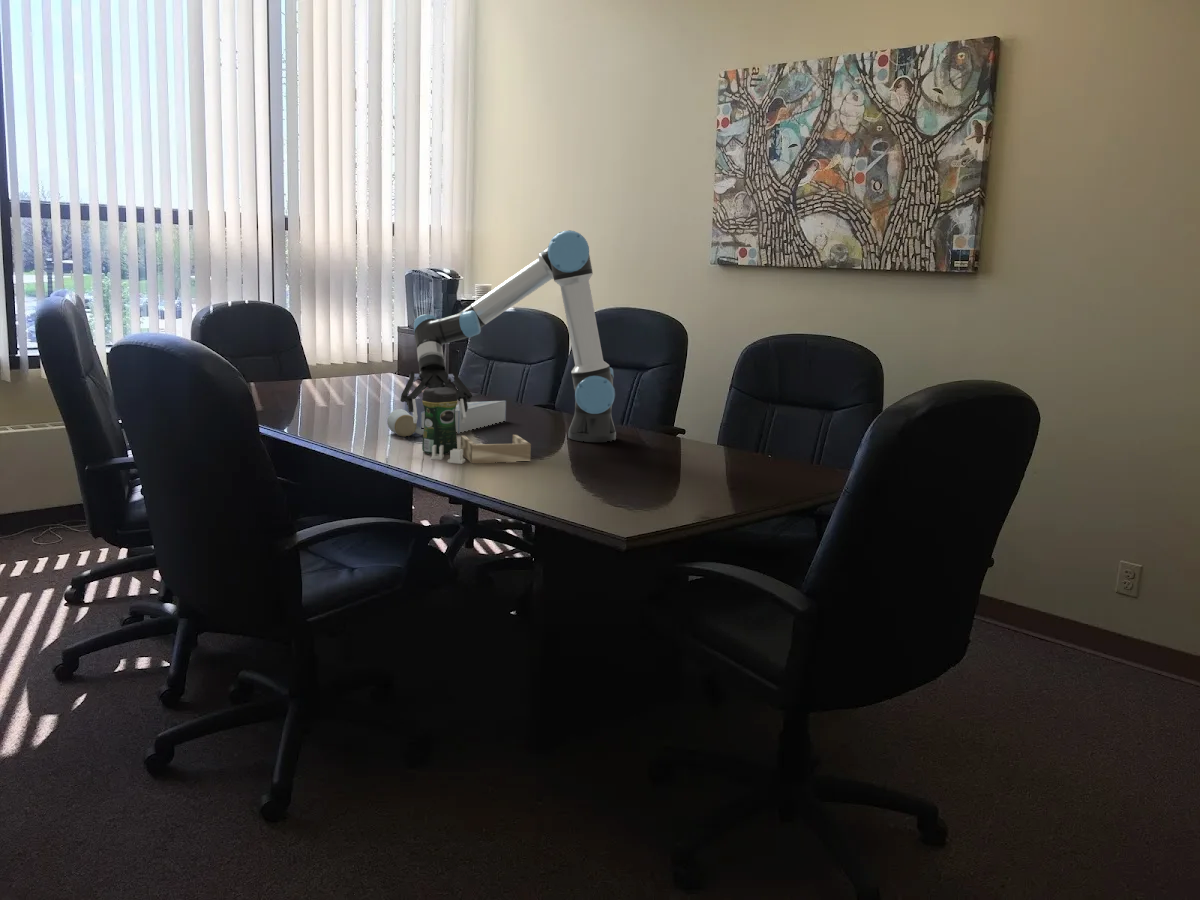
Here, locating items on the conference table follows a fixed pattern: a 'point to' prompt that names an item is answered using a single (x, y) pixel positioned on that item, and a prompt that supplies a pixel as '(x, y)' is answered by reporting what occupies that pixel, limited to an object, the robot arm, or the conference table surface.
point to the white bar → (478, 415)
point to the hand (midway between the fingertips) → (440, 420)
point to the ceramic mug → (402, 423)
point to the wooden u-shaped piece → (496, 451)
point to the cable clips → (455, 455)
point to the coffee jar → (439, 419)
